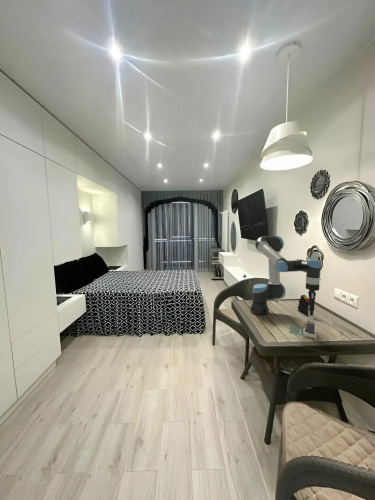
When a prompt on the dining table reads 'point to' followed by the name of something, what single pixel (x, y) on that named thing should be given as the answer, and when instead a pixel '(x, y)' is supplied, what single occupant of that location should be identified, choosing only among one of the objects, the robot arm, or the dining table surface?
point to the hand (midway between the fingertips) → (310, 317)
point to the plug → (310, 327)
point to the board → (302, 332)
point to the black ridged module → (303, 305)
